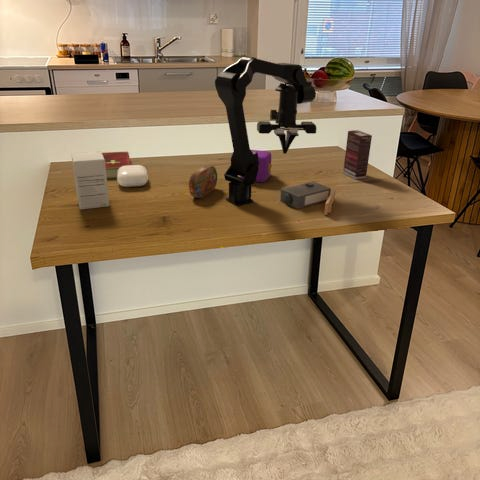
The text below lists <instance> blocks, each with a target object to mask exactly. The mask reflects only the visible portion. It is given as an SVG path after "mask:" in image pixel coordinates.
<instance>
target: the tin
mask: <svg viewBox="0 0 480 480" xmlns="http://www.w3.org/2000/svg"><path fill="white" fill-rule="evenodd" d="M217 183H218V173H217V168H216V167H215V166H213V165H205V166H203V167H201V168H200V169H198V170H196V171H194V172H193V173H192V174H191V175H190V178H189V180H188V188H189V193H190V195H191V197H192V198H198V199H202V197H203V198H204V197H206V196H207V195H208V194H210V193H211V192H213V191H214V190H215V189H216V187H217Z"/></svg>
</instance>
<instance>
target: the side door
mask: <svg viewBox="0 0 480 480" xmlns="http://www.w3.org/2000/svg"><path fill="white" fill-rule="evenodd" d="M335 197H336V188H332V189H331V192H330V196H329V197H328V199H327V201H325V204H324V213H323V214H324V215H327V216H328V215H329V213H330V214H331V212H332V205H333V203H334V201H335V199H336V198H335Z"/></svg>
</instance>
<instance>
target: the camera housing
mask: <svg viewBox="0 0 480 480" xmlns="http://www.w3.org/2000/svg"><path fill="white" fill-rule="evenodd" d="M331 192H332V188H331V187H328V186H327V185H324V184H322V183H319V182H316V181H309V182H305V183H300V184H296V185H291V186H289V187H284V188H280V200H279V201H280V202H282V203H283V204H285V205H288V206H290V207H292V208H294V209H297V210H298V209H302V208H305V207H309V206H314V205H317V204H320V203H323V202H326V201H327V199H328V197H329V196H330V194H331Z"/></svg>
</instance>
